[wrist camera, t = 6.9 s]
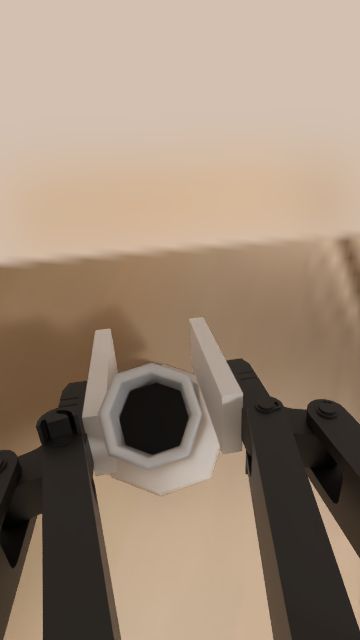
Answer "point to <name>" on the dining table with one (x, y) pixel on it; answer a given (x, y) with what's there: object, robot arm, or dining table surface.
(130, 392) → the flask
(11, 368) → the dining table surface
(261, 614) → the dining table surface
